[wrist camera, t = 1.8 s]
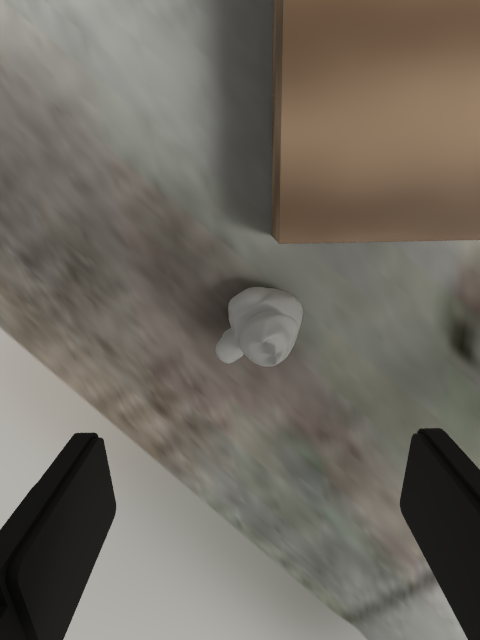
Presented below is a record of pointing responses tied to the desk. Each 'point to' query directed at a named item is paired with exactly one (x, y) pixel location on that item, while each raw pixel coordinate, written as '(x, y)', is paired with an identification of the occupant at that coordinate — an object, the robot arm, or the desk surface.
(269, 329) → the grey lumpy piece
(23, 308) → the desk surface
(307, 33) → the walnut block
